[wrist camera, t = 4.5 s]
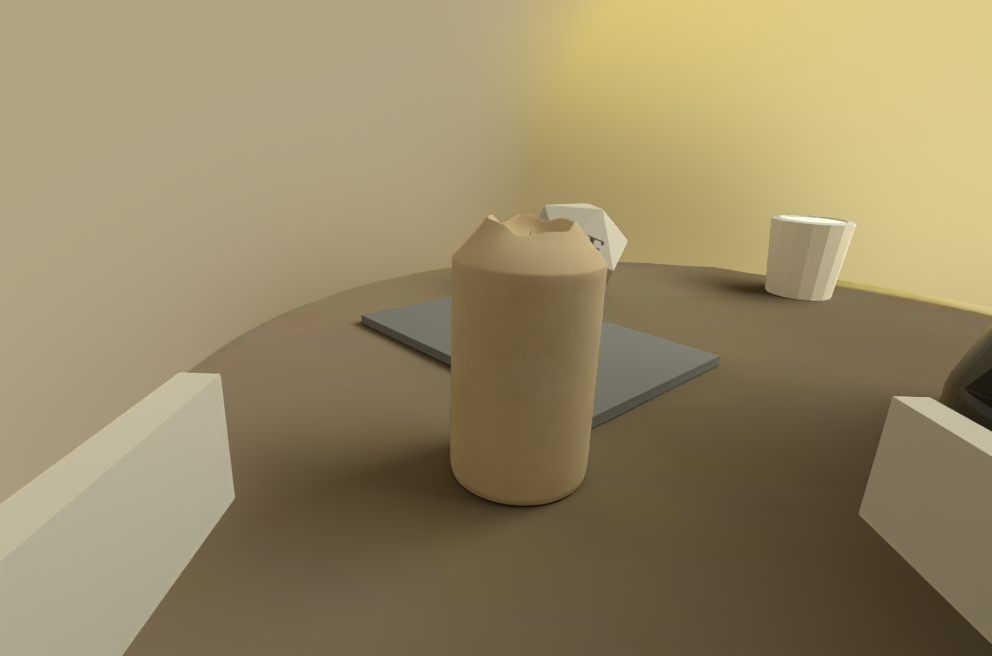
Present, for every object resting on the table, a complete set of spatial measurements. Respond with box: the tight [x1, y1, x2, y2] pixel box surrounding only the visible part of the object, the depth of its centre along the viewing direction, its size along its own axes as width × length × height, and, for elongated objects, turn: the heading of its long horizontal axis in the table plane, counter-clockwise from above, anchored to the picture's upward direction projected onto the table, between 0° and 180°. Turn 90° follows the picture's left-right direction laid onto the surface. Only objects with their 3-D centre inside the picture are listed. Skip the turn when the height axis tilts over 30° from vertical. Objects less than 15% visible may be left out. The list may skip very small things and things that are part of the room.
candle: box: [450, 213, 608, 506], centre depth 21 cm, size 6×6×10 cm
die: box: [539, 203, 627, 287], centre depth 49 cm, size 8×9×10 cm
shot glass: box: [765, 215, 856, 301], centre depth 52 cm, size 7×7×7 cm
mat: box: [362, 298, 720, 429], centre depth 36 cm, size 20×13×1 cm, turn 43°
